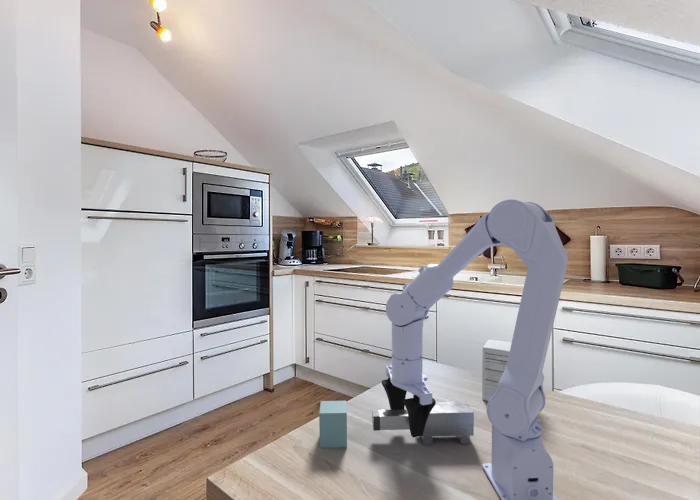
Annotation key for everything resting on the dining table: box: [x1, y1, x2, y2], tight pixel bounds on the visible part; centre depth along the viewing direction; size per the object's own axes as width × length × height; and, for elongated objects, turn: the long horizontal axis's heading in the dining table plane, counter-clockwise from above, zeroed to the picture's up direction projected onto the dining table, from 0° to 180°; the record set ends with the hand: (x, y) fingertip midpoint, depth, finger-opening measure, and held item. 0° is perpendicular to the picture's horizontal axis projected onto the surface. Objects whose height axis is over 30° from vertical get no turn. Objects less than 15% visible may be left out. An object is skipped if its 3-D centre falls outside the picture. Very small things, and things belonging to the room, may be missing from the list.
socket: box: [318, 400, 348, 449], centre depth 73 cm, size 5×5×6 cm
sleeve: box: [419, 401, 475, 446], centre depth 74 cm, size 4×10×6 cm, turn 91°
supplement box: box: [481, 339, 512, 402], centre depth 91 cm, size 7×7×13 cm
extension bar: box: [371, 408, 410, 432], centre depth 74 cm, size 3×17×3 cm, turn 91°
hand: (406, 425), depth 74 cm, fingers open, 7 cm apart
